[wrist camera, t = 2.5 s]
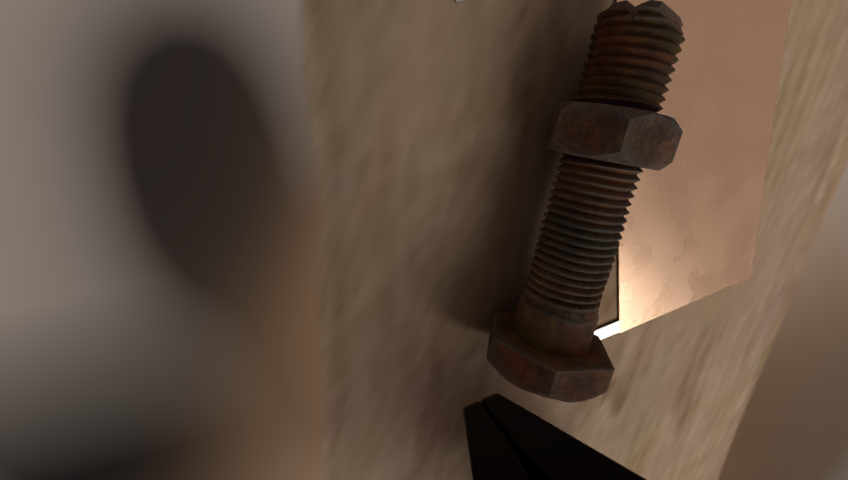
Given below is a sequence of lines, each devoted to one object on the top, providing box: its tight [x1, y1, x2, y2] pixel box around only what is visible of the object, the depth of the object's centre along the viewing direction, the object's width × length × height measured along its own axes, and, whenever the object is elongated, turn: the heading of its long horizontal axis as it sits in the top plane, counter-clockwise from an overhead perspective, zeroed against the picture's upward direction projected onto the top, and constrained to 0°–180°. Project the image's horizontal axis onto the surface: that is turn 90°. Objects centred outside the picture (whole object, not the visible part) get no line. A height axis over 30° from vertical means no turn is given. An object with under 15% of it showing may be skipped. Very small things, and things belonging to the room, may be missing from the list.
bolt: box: [487, 0, 685, 402], centre depth 17 cm, size 6×5×15 cm
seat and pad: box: [455, 0, 791, 340], centre depth 20 cm, size 19×17×1 cm
